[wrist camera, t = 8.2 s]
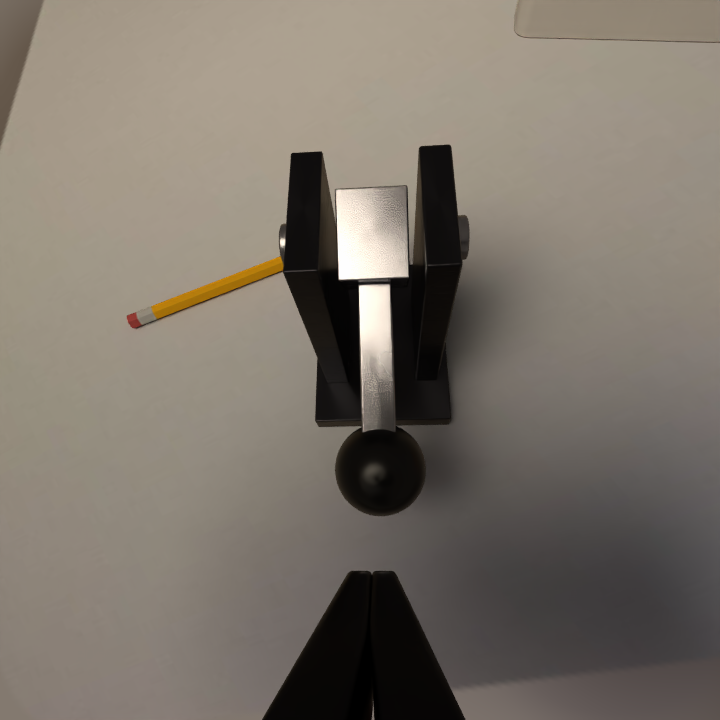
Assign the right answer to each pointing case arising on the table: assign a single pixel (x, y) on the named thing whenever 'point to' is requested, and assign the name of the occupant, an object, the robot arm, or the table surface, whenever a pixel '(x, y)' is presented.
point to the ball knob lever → (376, 350)
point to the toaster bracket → (410, 305)
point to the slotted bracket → (620, 19)
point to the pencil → (205, 292)
